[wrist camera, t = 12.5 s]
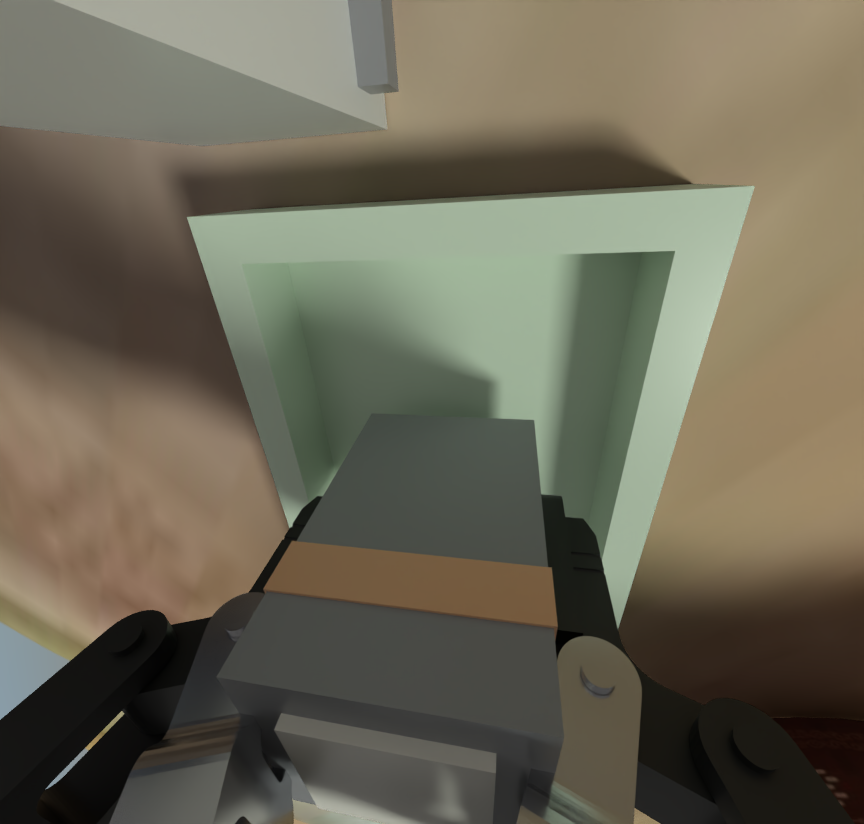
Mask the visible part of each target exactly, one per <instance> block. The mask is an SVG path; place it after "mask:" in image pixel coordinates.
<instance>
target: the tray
mask: <svg viewBox="0 0 864 824" xmlns="http://www.w3.org/2000/svg"><path fill="white" fill-rule="evenodd" d="M754 187H755V186H741V185H713V184H684V185H666V186H648V187H631V188H613V189H596V190H578V191H561V192H543V193H526V194H508V195H491V196H473V197H455V198H438V199H420V200H403V201H385V202H368V203H350V204H333V205H315V206H298V207H280V208H262V209H249V210H241V211H233V212H225V213H216V214H208V215H200V216H192V217H187V219H188V222H189V225H190V228H191V231H192V234H193V237H194V240H195V243H196V246H197V249H198V252H199V255H200V258H201V262H202V265H203V268H204V271H205V274H206V277H207V280H208V283H209V286H210V289H211V292H212V295H213V298H214V301H215V304H216V307H217V310H218V313H219V316H220V319H221V322H222V325H223V328H224V331H225V334H226V337H227V340H228V343H229V346H230V349H231V352H232V355H233V358H234V361H235V364H236V367H237V370H238V373H239V377H240V380H241V383H242V386H243V389H244V392H245V395H246V398H247V401H248V404H249V407H250V410H251V413H252V416H253V419H254V422H255V425H256V428H257V431H258V434H259V437H260V440H261V443H262V446H263V449H264V452H265V455H266V458H267V461H268V464H269V467H270V470H271V473H272V476H273V479H274V482H275V485H276V488H277V492H278V495H279V498H280V501H281V504H282V507H283V510H284V513H285V516H286V519H287V522H288V525H289V528H290V527H292V526H293V522H294V521H295V519H296V518H297V516H298V514H299V513H300V511H301V510H302V508H303V507H305V506H306V505H307V504H308V503H310V502H311V501H312V500H313V499H314V498H316V497H317V496H323V495H324V493H325V492H326V490H327V488H328V487H329V485H330V483H331V481H332V480H333V478H334V476H335V475H336V473H337V471H338V470H339V468H340V466H341V464H342V463H343V461H344V459H345V458H346V456H347V454H348V453H349V451H350V449H351V448H352V446H353V444H354V442H355V441H356V439H357V437H358V436H359V434H360V432H361V431H362V429H363V427H364V425H365V424H366V422H367V420H368V419H369V417H370V415H371V414H372V413H375V414H399V415H424V416H449V417H473V418H498V419H523V420H534V424H535V435H536V445H537V456H538V466H539V477H540V487H541V494H544V495H557V496H562V499H563V505H564V512H565V517H571V518H583V519H584V520H585V521H586V523H587V524H588V525H589V527H590V528H591V529H592V531H593V532H594V533H595V535H596V538H597V542H598V546H599V551H600V558H601V559H602V563H603V568H604V574H605V576H606V581H607V585H608V589H609V594H610V598H611V602H612V606H613V611H614V615H615V619H616V624H617V628H619V625H620V622H621V618H622V615H623V612H624V609H625V605H626V602H627V599H628V596H629V592H630V589H631V586H632V583H633V579H634V576H635V573H636V570H637V566H638V563H639V560H640V557H641V553H642V550H643V547H644V544H645V540H646V537H647V534H648V531H649V527H650V524H651V521H652V518H653V515H654V511H655V508H656V505H657V502H658V498H659V495H660V492H661V489H662V485H663V482H664V479H665V476H666V472H667V469H668V466H669V463H670V459H671V456H672V453H673V450H674V446H675V443H676V440H677V437H678V433H679V430H680V427H681V424H682V420H683V417H684V414H685V411H686V407H687V404H688V401H689V398H690V394H691V391H692V388H693V385H694V381H695V378H696V375H697V372H698V368H699V365H700V362H701V359H702V356H703V352H704V349H705V346H706V343H707V339H708V336H709V333H710V330H711V326H712V323H713V320H714V317H715V313H716V310H717V307H718V304H719V300H720V297H721V294H722V291H723V287H724V284H725V281H726V278H727V274H728V271H729V268H730V265H731V261H732V258H733V255H734V252H735V248H736V245H737V242H738V239H739V235H740V232H741V229H742V226H743V222H744V219H745V216H746V213H747V210H748V206H749V203H750V200H751V197H752V193H753V190H754Z"/></svg>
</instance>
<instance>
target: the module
mask: <svg viewBox="0 0 864 824" xmlns="http://www.w3.org/2000/svg"><path fill="white" fill-rule="evenodd" d="M263 590H264V592H265V595H264V597H263V599H262V600H261V602H260V604H259V605H258V607H257V609H256V611H255V612H254V614H253V616H252V617H251V619H250V621H249V622H248V624H247V626H246V628H245V629H244V631H243V633H242V634H241V636H240V638H239V639H238V641H237V643H236V644H235V646H234V648H233V650H232V651H231V653H230V655H229V656H228V658H227V660H226V661H225V663H224V665H223V667H222V668H221V670H220V672H219V673H218V675H217V679H218V680H219V682H220V684H221V685H222V687H223V688H224V690H225V692H226V693H227V695H228V696H229V698H230V699H231V701H232V703H233V704H234V706H235V707H236V709H237V711H238V712H239V713H242V714H248V715H254V717H255V719H256V721H257V722H258V724H259V726H260V727H261V729H262V737H261V748H262V750H263V752H264V753H265V755H266V757H267V758H268V760H269V761H270V763H271V764H272V766H273V767H275V768H280V769H285V770H286V771H287V773H288V774H289V776H290V778H291V779H292V798H293V799H294V800H297V801H301V802H306V803H310V804H315V805H316V806H317V807H318V808H319V809H323V810H328V811H332V812H337V813H341V814H345V815H350V816H354V817H358V818H363V819H367V820H372V821H376V822H380V823H385V824H516V823H517V819H518V815H519V811H520V807H521V803H522V799H523V795H524V791H525V788H526V785H527V782H528V778H529V774H530V770H531V768H532V769H536V770H541V771H546V772H551V773H555V772H556V768H557V764H558V760H559V756H560V752H561V748H562V744H563V740H564V731H563V720H562V710H561V699H560V688H559V678H558V667H557V657H556V646H555V640H556V634H557V628H558V624H557V614H556V604H555V595H554V585H553V575H552V568H551V567H548V561H547V551H546V540H545V530H544V519H543V509H542V498H541V487H540V477H539V466H538V456H537V445H536V435H535V424H534V420H523V419H498V418H473V417H449V416H424V415H399V414H375V413H372V414H371V415H370V417H369V419H368V420H367V422H366V424H365V425H364V427H363V429H362V431H361V432H360V434H359V436H358V437H357V439H356V441H355V442H354V444H353V446H352V448H351V449H350V451H349V453H348V454H347V456H346V458H345V459H344V461H343V463H342V464H341V466H340V468H339V470H338V471H337V473H336V475H335V476H334V478H333V480H332V481H331V483H330V485H329V487H328V488H327V490H326V492H325V493H324V495H323V497H322V498H321V500H320V502H319V504H318V505H317V507H316V509H315V510H314V512H313V514H312V515H311V517H310V519H309V521H308V522H307V524H306V526H305V527H304V529H303V531H302V532H301V534H300V536H299V538H298V539H297V541H292V542H291V544H290V545H289V547H288V549H287V550H286V552H285V554H284V555H283V557H282V559H281V560H280V562H279V564H278V565H277V567H276V569H275V570H274V572H273V574H272V575H271V577H270V578H269V580H268V582H267V583H266V585H265V587H264V588H263Z"/></svg>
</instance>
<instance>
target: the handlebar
mask: <svg viewBox="0 0 864 824" xmlns="http://www.w3.org/2000/svg"><path fill="white" fill-rule="evenodd" d="M772 719H773V720H774V721H775V722H776V723H778V724H779V725H780V726H781V727H782V728H783V729H784V730H785V731H786V732H787V733H788V734H789V736H790V737H791V738H792V739H793V741H794V742H795V743H796V744H797V746H798V747H799V748H800V750H801V751H802V753H803V754H804V755H805V757H806V758H807V759H808V761H809V762H810V763H811V765H812V766H813V767H814V769H815V770H816V772H817V773H818V774H819V776H820V777H821V778H822V780H823V781H824V782H825V784H826V785H827V786H828V788H829V789H830V790H831V792H832V793H833V795H834V796H835V797H836V799H837V800H838V801H839V803H840V804H841V805H842V807H843V808H844V809H845V811H846V812H847V814H848V815H849V816H850V818H851V819H852V820H853V822H854V823H855V824H864V722H863V721H856V720H848V719H837V718H805V717H791V718H772Z"/></svg>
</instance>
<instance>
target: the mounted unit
mask: <svg viewBox="0 0 864 824" xmlns="http://www.w3.org/2000/svg"><path fill="white" fill-rule="evenodd" d="M389 92H399V90H398V77H397V64H396V51H395V38H394V25H393V12H392V0H0V126H6V127H16V128H26V129H36V130H46V131H56V132H66V133H76V134H85V135H95V136H105V137H115V138H125V139H135V140H145V141H155V142H165V143H175V144H185V145H195V146H210V145H221V144H232V143H243V142H254V141H265V140H276V139H287V138H299V137H310V136H321V135H332V134H343V133H354V132H365V131H376V130H387V119H386V108H385V97H384V93H389Z"/></svg>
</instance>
